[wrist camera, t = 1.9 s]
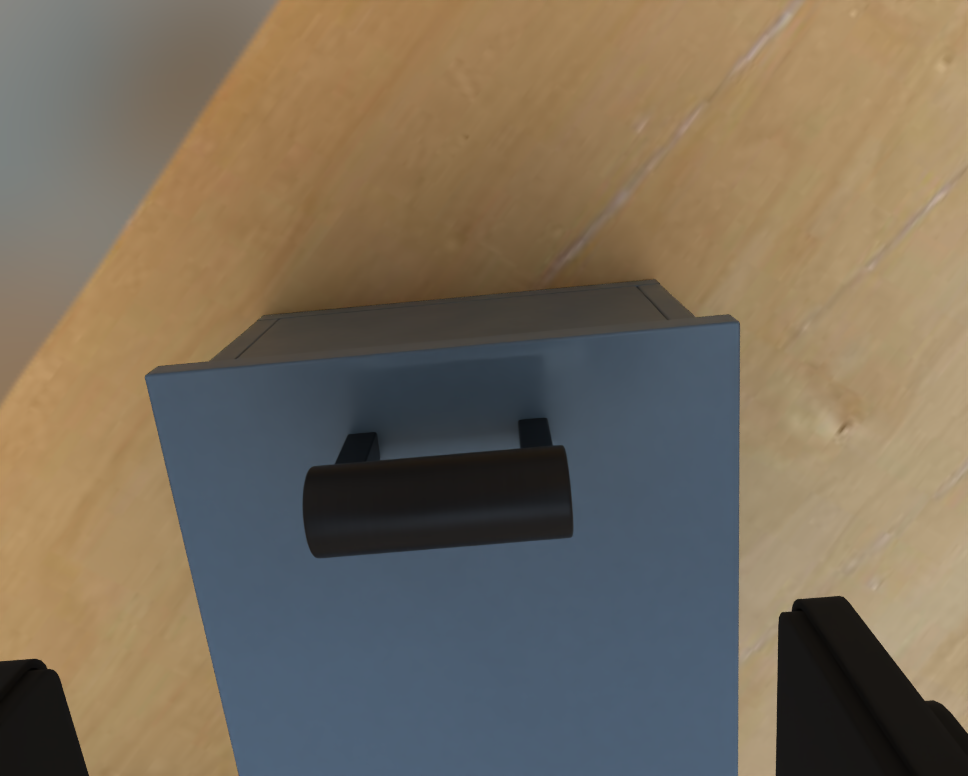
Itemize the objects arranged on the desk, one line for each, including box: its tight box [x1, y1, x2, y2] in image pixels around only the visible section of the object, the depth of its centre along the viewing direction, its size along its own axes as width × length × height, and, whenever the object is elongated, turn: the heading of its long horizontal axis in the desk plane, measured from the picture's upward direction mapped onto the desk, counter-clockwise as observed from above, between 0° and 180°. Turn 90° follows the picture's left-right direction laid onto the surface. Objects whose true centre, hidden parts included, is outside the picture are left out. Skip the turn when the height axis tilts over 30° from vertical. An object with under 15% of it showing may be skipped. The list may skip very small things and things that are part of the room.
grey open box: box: [210, 279, 695, 361], centre depth 26 cm, size 15×14×9 cm
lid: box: [145, 314, 740, 776], centre depth 19 cm, size 15×14×5 cm
